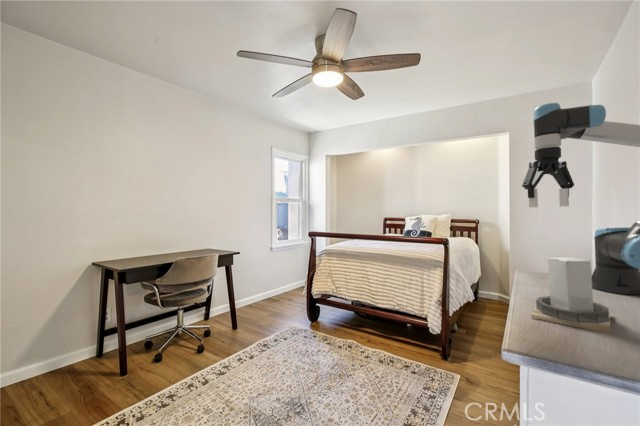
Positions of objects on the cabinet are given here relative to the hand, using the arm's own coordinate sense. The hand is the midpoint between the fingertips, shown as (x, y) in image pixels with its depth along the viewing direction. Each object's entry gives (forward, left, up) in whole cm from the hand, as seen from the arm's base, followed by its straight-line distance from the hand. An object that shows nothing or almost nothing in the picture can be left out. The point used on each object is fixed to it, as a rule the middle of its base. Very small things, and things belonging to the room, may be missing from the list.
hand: (549, 207), depth 105 cm
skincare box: (+16, +19, -31) cm, 39 cm away
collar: (+16, +19, -32) cm, 40 cm away
